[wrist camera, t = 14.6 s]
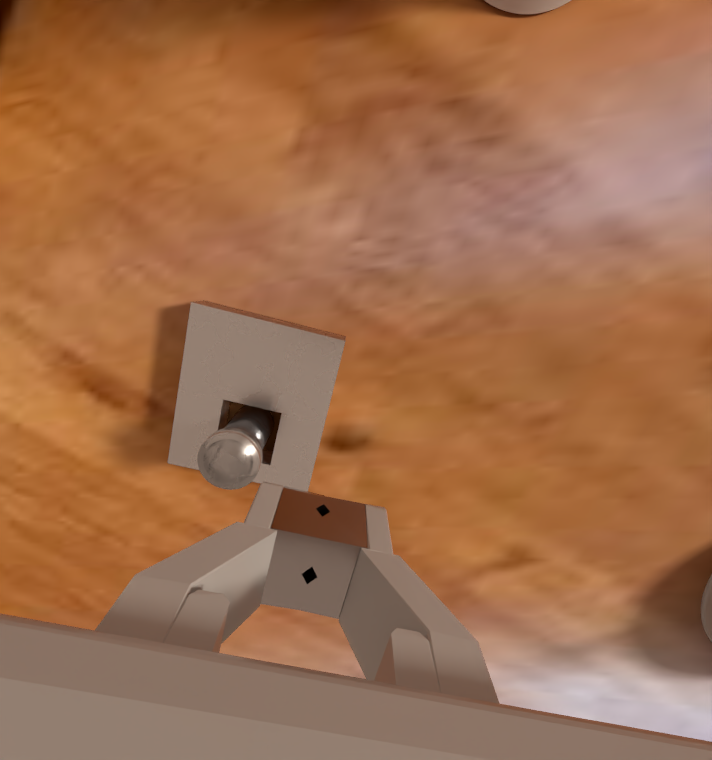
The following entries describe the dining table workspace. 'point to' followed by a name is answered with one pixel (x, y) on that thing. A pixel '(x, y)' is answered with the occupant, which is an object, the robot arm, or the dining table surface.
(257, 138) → the dining table surface
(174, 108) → the dining table surface
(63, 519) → the dining table surface
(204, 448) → the flashlight
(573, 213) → the dining table surface
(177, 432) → the jig
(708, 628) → the grey dome pendant lamp
